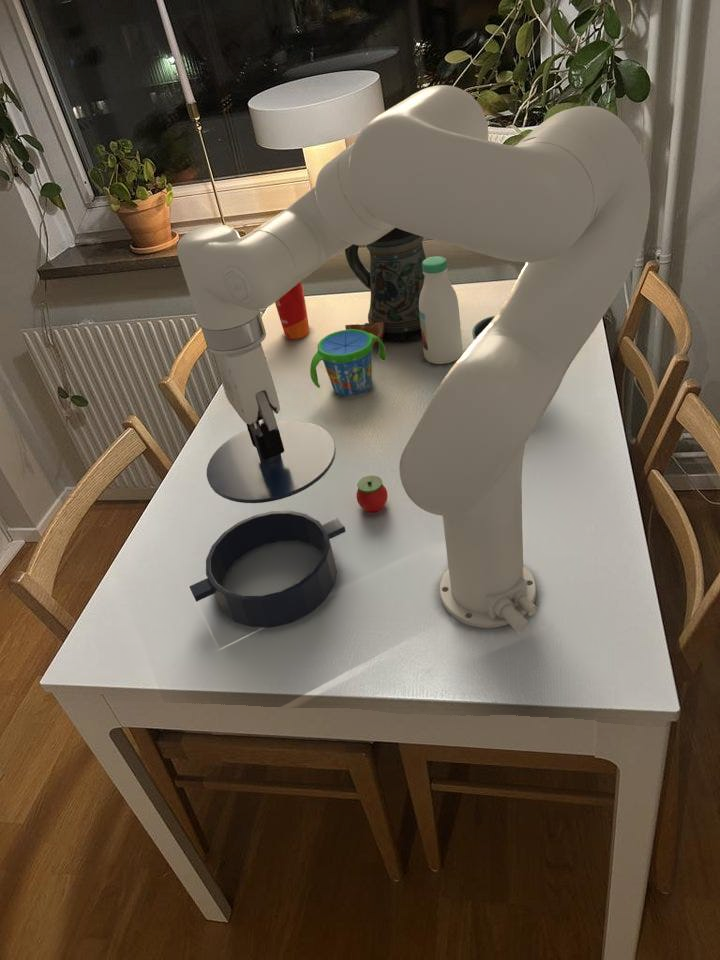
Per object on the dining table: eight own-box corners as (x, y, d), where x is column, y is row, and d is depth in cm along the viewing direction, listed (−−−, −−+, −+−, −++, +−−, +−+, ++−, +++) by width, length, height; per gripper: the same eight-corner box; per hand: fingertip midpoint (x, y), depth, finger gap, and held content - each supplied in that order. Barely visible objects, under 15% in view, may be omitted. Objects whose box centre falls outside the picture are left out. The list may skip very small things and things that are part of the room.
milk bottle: (469, 349, 149) (462, 253, 137) (451, 367, 144) (442, 270, 132) (435, 343, 153) (425, 250, 141) (417, 361, 148) (405, 267, 136)
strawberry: (395, 511, 114) (390, 482, 110) (368, 523, 112) (362, 495, 109) (380, 495, 117) (375, 467, 114) (354, 507, 116) (348, 479, 112)
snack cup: (378, 364, 150) (371, 319, 144) (400, 386, 142) (393, 339, 136) (307, 389, 147) (296, 344, 141) (326, 413, 139) (315, 366, 133)
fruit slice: (346, 352, 156) (342, 331, 153) (352, 337, 161) (348, 316, 158) (385, 350, 154) (381, 328, 151) (389, 335, 159) (386, 313, 156)
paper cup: (284, 326, 171) (271, 269, 162) (316, 324, 169) (304, 266, 161) (277, 343, 165) (262, 284, 156) (310, 340, 163) (297, 281, 155)
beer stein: (447, 338, 154) (436, 219, 139) (355, 350, 157) (335, 234, 141) (442, 304, 167) (431, 192, 152) (357, 315, 170) (338, 206, 154)
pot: (375, 583, 102) (368, 553, 99) (222, 659, 96) (209, 629, 92) (322, 517, 115) (315, 488, 112) (185, 580, 109) (172, 551, 105)
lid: (359, 469, 100) (350, 425, 95) (234, 526, 95) (218, 482, 90) (304, 412, 114) (294, 372, 109) (192, 459, 108) (177, 419, 104)
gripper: (187, 318, 96) (225, 432, 108) (225, 365, 84) (264, 489, 95) (240, 299, 98) (272, 414, 110) (285, 343, 86) (316, 467, 97)
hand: (268, 447), depth 102 cm, fingers closed on lid, 3 cm apart
